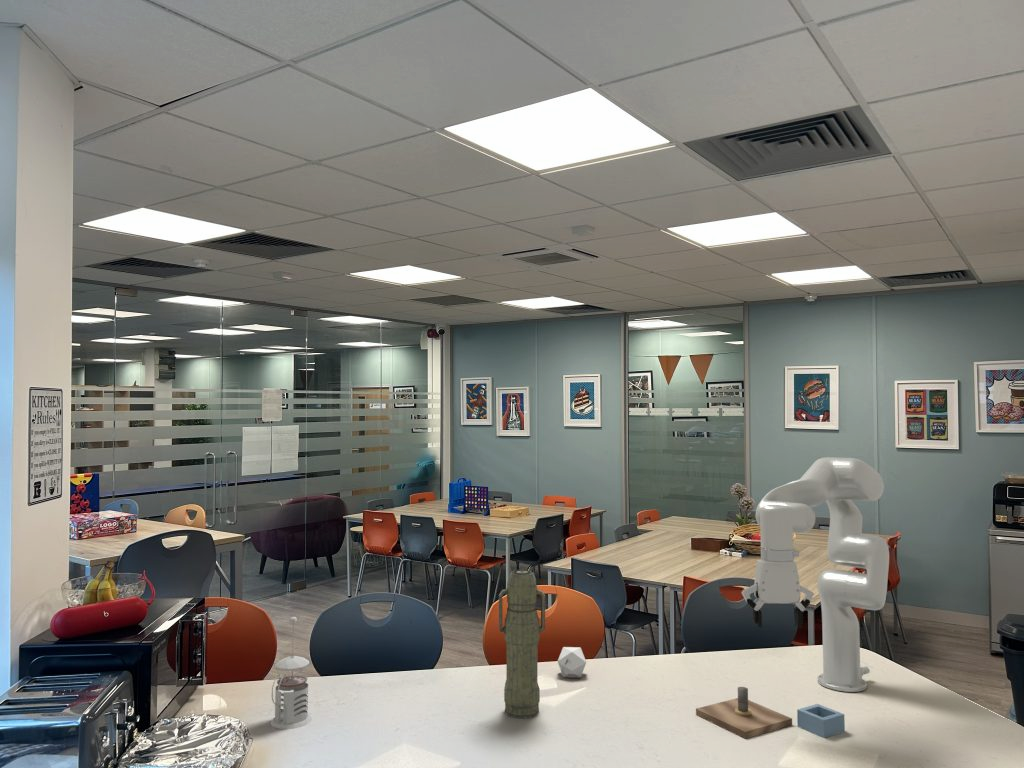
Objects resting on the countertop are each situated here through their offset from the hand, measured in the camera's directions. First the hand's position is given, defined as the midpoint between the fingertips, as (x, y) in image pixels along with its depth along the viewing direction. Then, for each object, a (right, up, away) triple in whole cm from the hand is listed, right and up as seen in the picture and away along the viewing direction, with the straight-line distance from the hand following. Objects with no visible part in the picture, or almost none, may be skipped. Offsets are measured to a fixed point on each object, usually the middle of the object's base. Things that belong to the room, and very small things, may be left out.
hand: (778, 626), depth 178 cm
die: (-48, -25, +33) cm, 63 cm away
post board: (-8, -23, +1) cm, 25 cm away
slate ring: (+9, -23, -4) cm, 25 cm away
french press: (-120, -23, -1) cm, 122 cm away
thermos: (-63, -24, +6) cm, 67 cm away
